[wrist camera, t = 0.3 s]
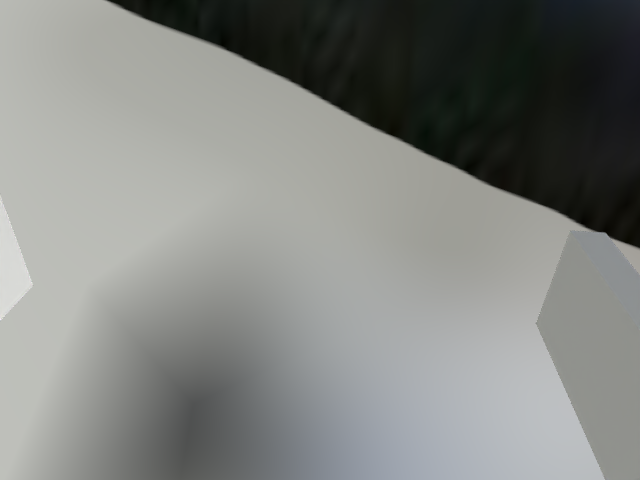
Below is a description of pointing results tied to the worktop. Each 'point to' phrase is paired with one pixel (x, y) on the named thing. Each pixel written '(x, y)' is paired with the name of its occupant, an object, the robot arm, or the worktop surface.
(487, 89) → the worktop surface
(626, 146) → the worktop surface
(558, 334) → the robot arm
